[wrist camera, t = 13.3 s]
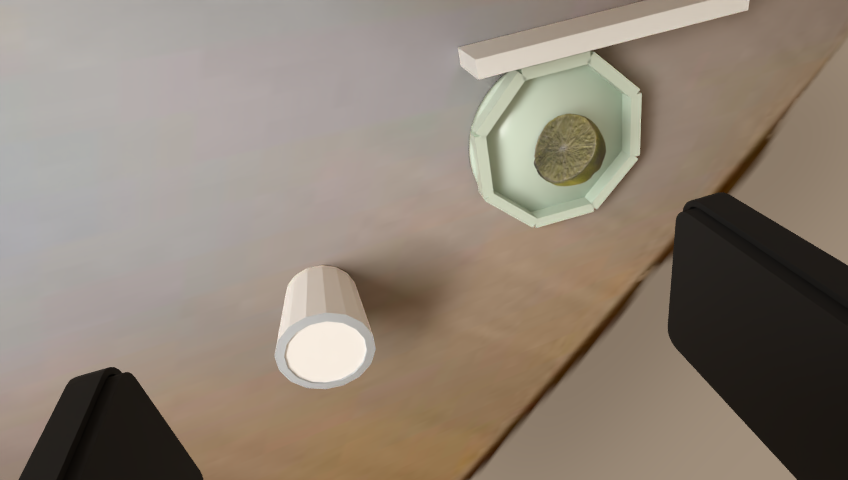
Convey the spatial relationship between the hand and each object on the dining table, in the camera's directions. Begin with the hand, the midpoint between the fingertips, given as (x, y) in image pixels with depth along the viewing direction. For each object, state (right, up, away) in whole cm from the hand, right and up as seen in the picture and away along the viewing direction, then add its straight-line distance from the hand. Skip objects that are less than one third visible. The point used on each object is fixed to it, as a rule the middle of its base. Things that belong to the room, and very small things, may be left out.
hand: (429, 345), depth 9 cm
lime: (+10, +9, +30) cm, 33 cm away
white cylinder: (-8, -2, +33) cm, 34 cm away
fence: (+11, +16, +27) cm, 33 cm away
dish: (+9, +9, +30) cm, 33 cm away
